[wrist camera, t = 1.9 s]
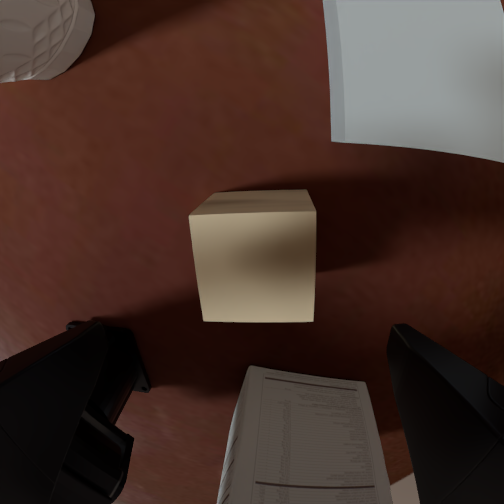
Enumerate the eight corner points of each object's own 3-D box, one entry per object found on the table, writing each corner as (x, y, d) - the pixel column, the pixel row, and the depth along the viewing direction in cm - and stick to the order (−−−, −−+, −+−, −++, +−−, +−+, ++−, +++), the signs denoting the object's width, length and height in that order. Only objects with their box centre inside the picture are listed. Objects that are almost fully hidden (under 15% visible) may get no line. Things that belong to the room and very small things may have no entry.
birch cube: (306, 273, 18) (313, 321, 13) (222, 274, 18) (203, 321, 14) (306, 189, 16) (316, 211, 11) (214, 192, 17) (188, 215, 12)
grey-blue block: (479, 156, 14) (517, 165, 10) (330, 141, 15) (345, 142, 12) (467, 14, 11) (499, -3, 7) (319, -18, 12) (327, -51, 8)
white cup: (115, 44, 14) (-7, 4, 4) (31, 109, 15) (-83, 122, 6) (92, -30, 11) (1, -79, 2) (16, 33, 13) (-79, 23, 4)
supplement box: (228, 429, 24) (194, 596, 9) (247, 361, 21) (203, 601, 5) (327, 443, 24) (332, 601, 8) (369, 380, 21) (408, 588, 5)
